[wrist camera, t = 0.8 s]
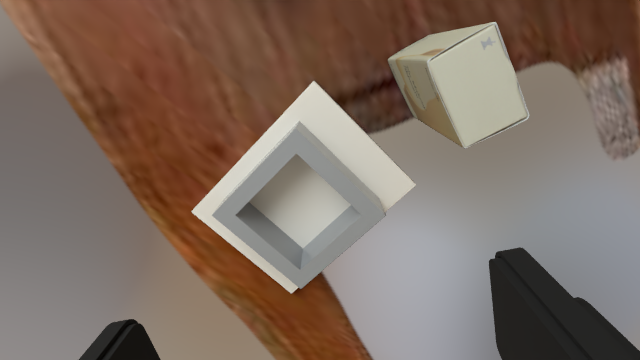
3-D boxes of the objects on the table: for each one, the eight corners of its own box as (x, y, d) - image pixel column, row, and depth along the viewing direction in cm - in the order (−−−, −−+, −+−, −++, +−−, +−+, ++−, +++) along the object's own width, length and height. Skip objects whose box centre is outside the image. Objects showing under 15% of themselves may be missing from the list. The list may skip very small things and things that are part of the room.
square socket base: (314, 80, 31) (312, 83, 27) (413, 181, 34) (427, 200, 30) (194, 207, 36) (174, 229, 31) (292, 288, 39) (287, 319, 34)
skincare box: (385, 59, 31) (421, 55, 19) (429, 33, 30) (495, 13, 18) (415, 121, 32) (464, 153, 21) (457, 98, 32) (533, 118, 20)
